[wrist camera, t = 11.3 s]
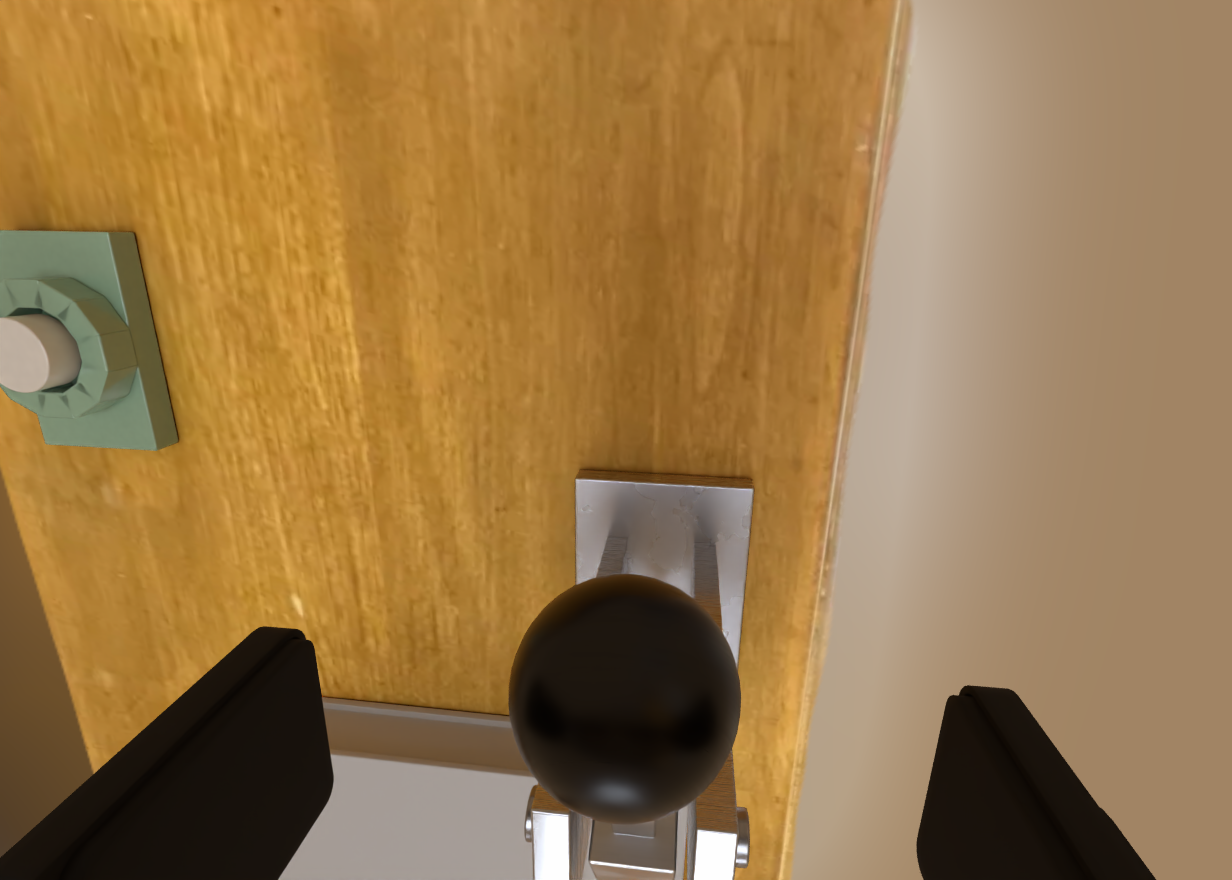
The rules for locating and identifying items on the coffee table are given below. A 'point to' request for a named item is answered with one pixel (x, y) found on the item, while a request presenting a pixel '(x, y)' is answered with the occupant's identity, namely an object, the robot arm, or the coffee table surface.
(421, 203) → the coffee table surface
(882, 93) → the coffee table surface
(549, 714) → the lever with ball knob
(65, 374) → the beige push button
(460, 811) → the book
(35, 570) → the coffee table surface
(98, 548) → the coffee table surface
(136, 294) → the green push button base
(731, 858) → the lever stand
